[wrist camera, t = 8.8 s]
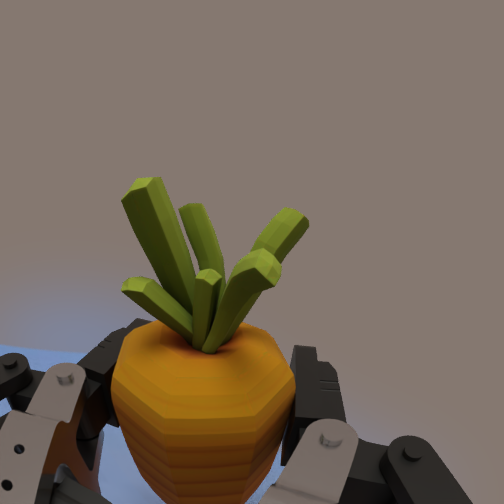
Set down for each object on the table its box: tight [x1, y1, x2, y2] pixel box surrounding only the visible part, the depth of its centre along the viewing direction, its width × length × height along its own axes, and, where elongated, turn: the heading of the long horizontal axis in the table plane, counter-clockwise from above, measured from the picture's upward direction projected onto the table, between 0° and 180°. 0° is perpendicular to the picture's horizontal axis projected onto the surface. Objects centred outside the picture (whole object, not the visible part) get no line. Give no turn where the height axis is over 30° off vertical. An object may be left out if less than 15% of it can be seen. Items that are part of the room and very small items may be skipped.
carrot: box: [111, 177, 309, 504], centre depth 8 cm, size 5×5×15 cm
